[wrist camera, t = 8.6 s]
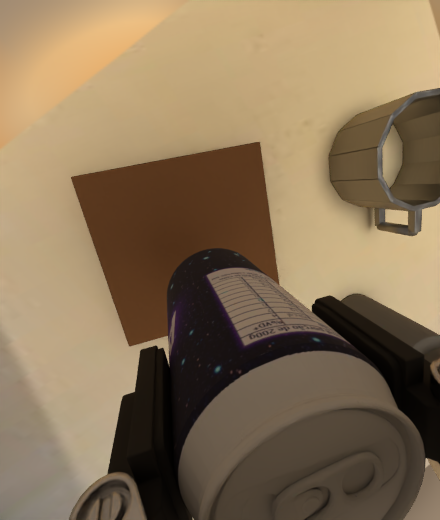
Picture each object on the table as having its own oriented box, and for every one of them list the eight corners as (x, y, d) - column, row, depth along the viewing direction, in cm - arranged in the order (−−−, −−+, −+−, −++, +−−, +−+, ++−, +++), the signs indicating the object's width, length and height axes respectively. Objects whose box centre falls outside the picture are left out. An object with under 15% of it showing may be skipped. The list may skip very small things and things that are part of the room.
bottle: (325, 325, 35) (436, 419, 21) (347, 286, 34) (479, 357, 20) (357, 338, 37) (480, 433, 23) (379, 302, 36) (521, 376, 22)
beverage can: (151, 264, 15) (122, 477, 4) (241, 231, 16) (436, 335, 5) (185, 343, 17) (230, 645, 6) (265, 310, 18) (447, 525, 6)
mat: (74, 177, 25) (70, 177, 24) (256, 143, 27) (259, 141, 26) (130, 341, 30) (129, 346, 29) (278, 299, 32) (281, 303, 32)
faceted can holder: (326, 119, 28) (376, 98, 21) (407, 105, 30) (478, 81, 23) (333, 237, 32) (378, 250, 25) (405, 219, 33) (465, 226, 27)
